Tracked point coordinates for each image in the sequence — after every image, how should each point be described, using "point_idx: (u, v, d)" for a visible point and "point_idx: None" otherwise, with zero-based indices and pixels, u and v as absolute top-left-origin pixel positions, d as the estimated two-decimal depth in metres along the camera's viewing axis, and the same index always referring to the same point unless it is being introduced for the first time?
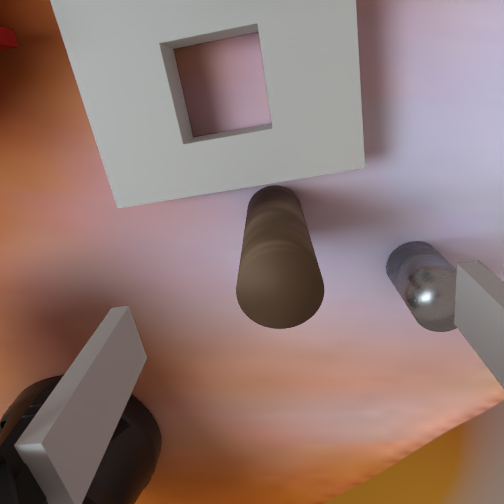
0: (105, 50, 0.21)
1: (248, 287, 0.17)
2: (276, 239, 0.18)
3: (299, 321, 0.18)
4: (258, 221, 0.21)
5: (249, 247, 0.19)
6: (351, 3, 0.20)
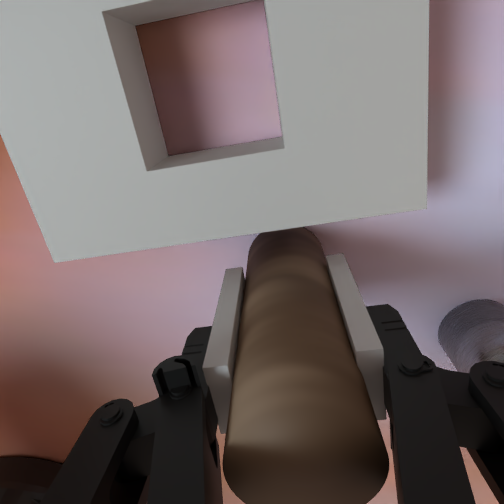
0: (15, 23, 0.13)
1: (245, 460, 0.09)
2: (298, 361, 0.10)
3: None
4: (264, 301, 0.13)
5: (248, 367, 0.11)
6: None
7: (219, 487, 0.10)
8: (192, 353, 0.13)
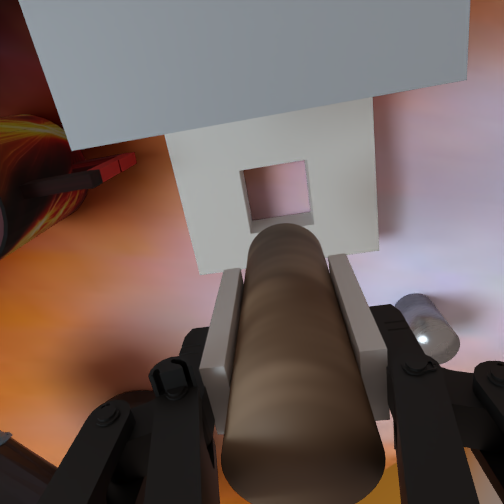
0: (201, 174, 0.31)
1: (244, 455, 0.09)
2: (296, 358, 0.10)
3: None
4: (263, 299, 0.13)
5: (246, 364, 0.11)
6: (371, 148, 0.30)
7: (216, 488, 0.10)
8: (189, 354, 0.13)
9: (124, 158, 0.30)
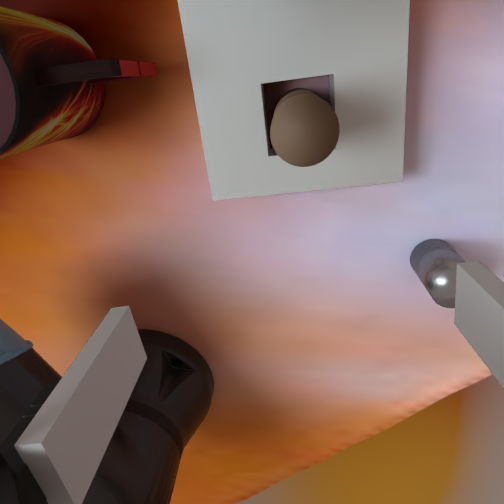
0: (220, 86, 0.29)
1: (280, 126, 0.22)
2: None
3: (318, 160, 0.23)
4: (287, 95, 0.26)
5: (281, 103, 0.23)
6: (403, 64, 0.28)
7: None
8: (33, 416, 0.12)
9: (144, 63, 0.29)
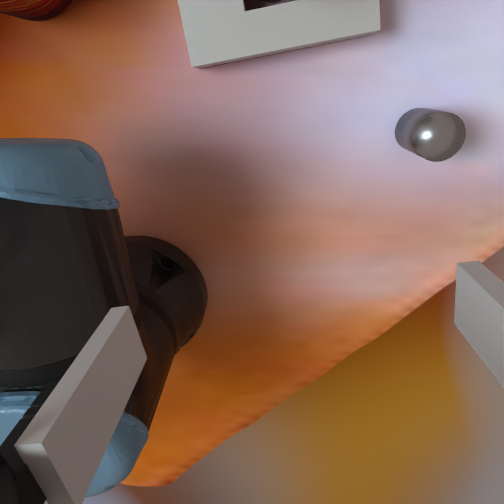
0: None
1: None
2: None
3: None
4: None
5: None
6: None
7: None
8: (33, 416, 0.12)
9: None
